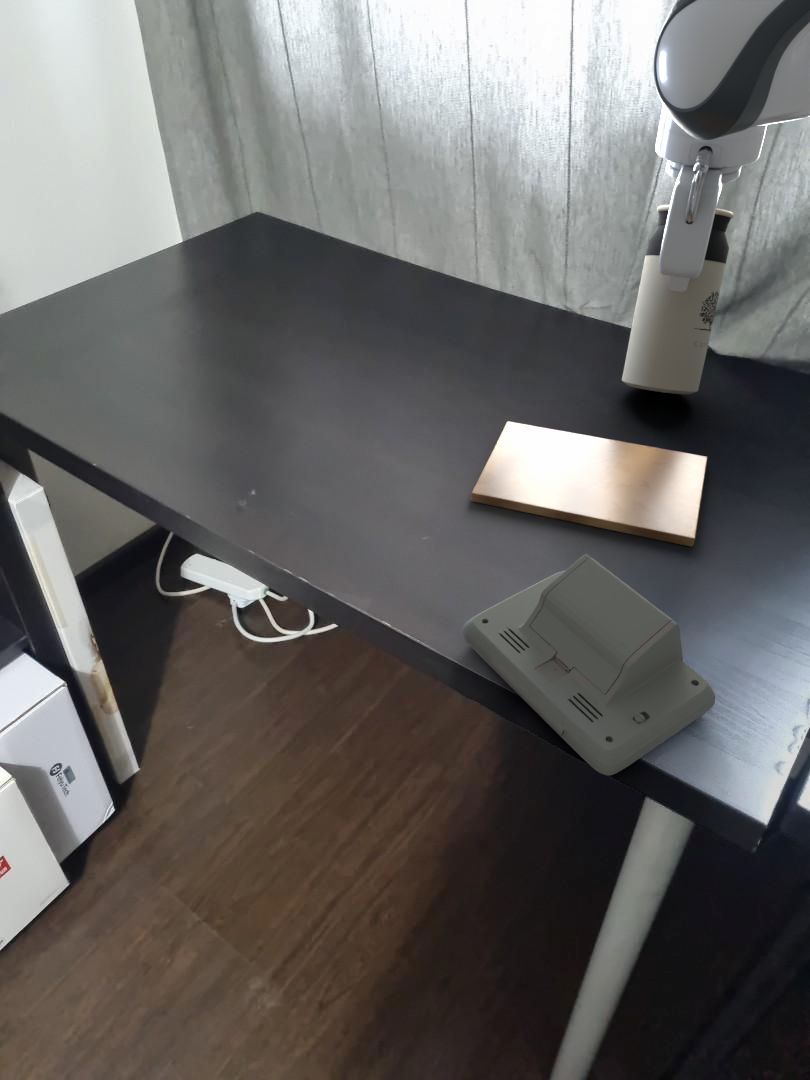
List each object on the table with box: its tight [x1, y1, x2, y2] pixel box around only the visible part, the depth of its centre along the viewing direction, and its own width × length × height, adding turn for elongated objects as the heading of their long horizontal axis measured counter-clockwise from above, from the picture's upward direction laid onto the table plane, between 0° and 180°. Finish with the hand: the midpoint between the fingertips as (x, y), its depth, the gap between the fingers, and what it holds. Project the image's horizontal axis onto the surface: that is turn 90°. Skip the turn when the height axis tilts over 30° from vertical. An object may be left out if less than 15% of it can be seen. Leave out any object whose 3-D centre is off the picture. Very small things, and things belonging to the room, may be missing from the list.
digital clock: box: [461, 553, 716, 776], centre depth 59 cm, size 16×9×11 cm
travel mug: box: [621, 204, 735, 395], centre depth 86 cm, size 8×8×18 cm
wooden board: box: [470, 420, 708, 548], centre depth 78 cm, size 20×13×1 cm, turn 70°
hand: (678, 285), depth 81 cm, fingers closed
